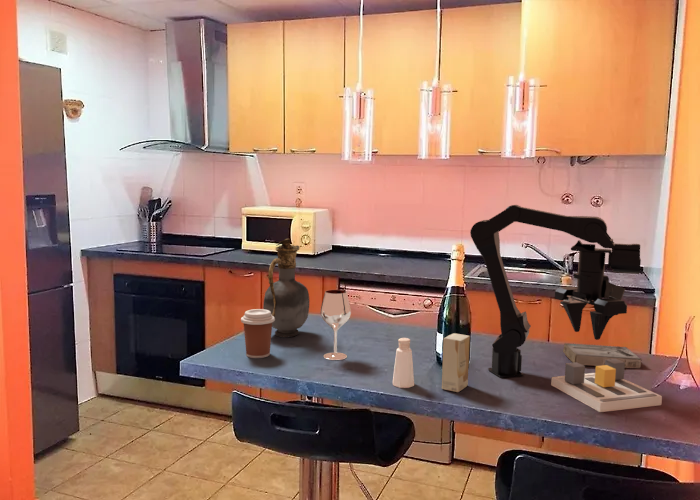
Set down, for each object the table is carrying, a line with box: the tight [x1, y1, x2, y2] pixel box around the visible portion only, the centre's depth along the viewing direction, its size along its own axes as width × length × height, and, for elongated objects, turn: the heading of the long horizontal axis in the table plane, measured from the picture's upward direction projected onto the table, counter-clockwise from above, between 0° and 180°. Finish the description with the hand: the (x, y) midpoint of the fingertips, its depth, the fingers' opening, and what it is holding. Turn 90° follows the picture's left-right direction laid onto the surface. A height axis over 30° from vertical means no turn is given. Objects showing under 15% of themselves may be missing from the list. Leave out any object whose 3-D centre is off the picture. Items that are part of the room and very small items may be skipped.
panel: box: [550, 359, 663, 413], centre depth 136 cm, size 16×17×6 cm
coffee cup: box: [240, 308, 275, 359], centre depth 163 cm, size 9×9×12 cm
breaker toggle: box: [594, 365, 616, 387], centre depth 136 cm, size 3×3×4 cm
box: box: [562, 342, 643, 369], centre depth 162 cm, size 11×17×3 cm, turn 86°
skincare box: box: [441, 332, 471, 393], centre depth 139 cm, size 6×4×12 cm
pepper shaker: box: [392, 337, 415, 389], centre depth 141 cm, size 5×5×11 cm
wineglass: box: [320, 289, 352, 361], centre depth 161 cm, size 8×8×18 cm
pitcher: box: [262, 238, 310, 338], centre depth 182 cm, size 11×19×30 cm, turn 160°
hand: (586, 335), depth 142 cm, fingers open, 7 cm apart
